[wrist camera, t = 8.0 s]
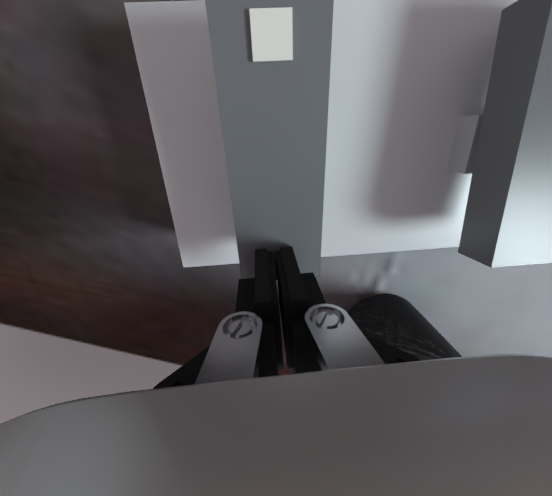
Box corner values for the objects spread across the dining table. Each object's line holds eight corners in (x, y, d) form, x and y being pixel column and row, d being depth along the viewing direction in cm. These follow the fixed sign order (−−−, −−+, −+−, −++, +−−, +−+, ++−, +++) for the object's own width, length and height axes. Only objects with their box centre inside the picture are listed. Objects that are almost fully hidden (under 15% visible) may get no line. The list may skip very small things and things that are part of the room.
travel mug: (330, 351, 26) (505, 868, 8) (352, 286, 23) (727, 890, 5) (400, 356, 27) (698, 823, 9) (430, 295, 24) (979, 817, 6)
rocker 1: (318, 3, 9) (336, -24, 7) (311, 254, 14) (320, 278, 12) (212, 6, 9) (201, -21, 7) (243, 259, 14) (241, 284, 12)
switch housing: (532, 22, 16) (690, -40, 10) (476, 216, 21) (559, 249, 15) (162, 34, 15) (104, -26, 9) (199, 235, 20) (177, 278, 14)
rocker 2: (589, 7, 10) (671, -31, 8) (525, 247, 13) (572, 262, 11) (501, 10, 10) (563, -28, 8) (458, 252, 13) (494, 268, 11)
